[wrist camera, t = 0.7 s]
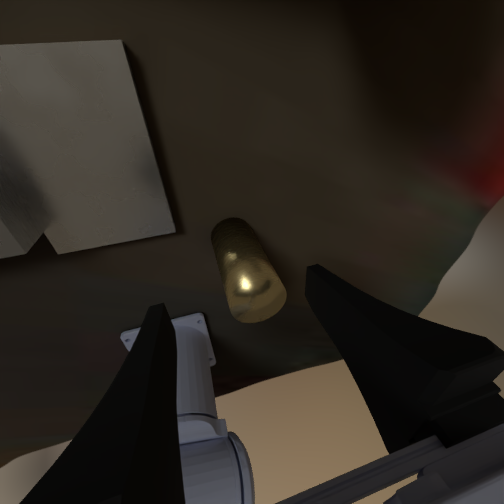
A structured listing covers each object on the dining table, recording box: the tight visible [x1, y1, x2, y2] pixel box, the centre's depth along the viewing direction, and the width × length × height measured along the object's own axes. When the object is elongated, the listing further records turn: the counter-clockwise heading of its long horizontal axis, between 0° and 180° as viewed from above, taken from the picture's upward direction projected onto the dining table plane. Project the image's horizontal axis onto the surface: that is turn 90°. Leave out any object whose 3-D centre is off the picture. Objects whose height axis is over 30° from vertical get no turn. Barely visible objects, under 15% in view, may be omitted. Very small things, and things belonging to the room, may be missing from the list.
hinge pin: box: [211, 218, 287, 323], centre depth 18 cm, size 4×4×8 cm
